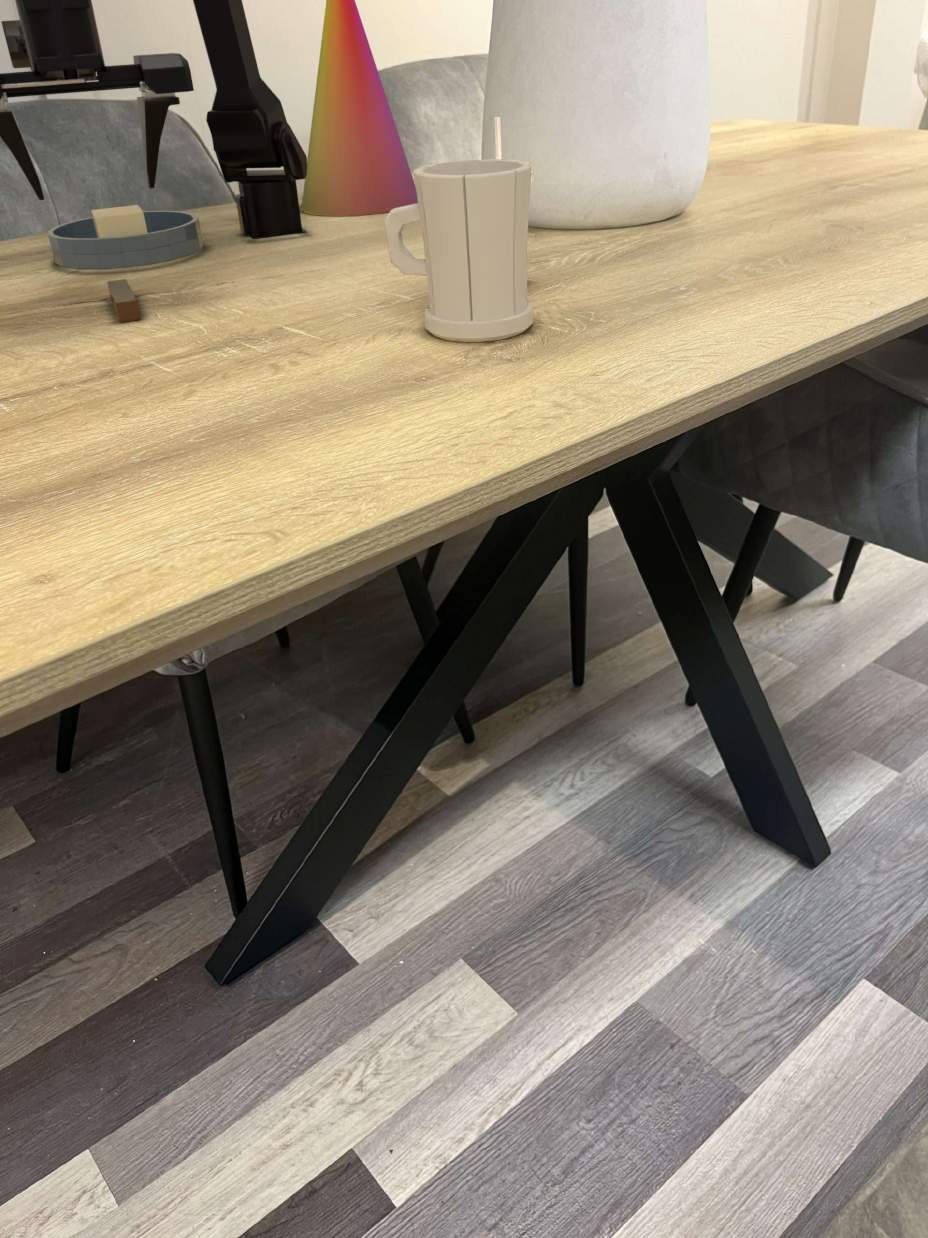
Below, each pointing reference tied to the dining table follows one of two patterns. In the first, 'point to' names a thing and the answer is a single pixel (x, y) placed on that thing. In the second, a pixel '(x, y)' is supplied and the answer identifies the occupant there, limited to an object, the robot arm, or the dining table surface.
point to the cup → (469, 247)
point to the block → (119, 221)
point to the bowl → (127, 242)
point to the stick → (123, 300)
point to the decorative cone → (352, 128)
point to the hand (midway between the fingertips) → (97, 193)
